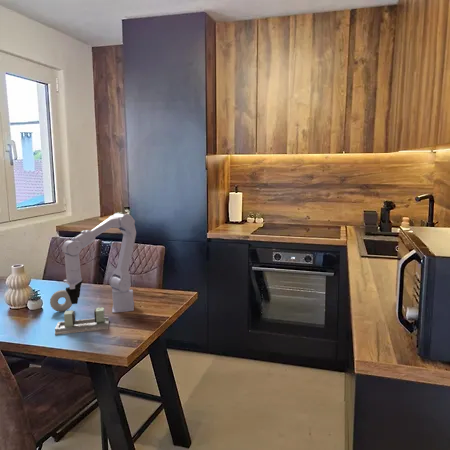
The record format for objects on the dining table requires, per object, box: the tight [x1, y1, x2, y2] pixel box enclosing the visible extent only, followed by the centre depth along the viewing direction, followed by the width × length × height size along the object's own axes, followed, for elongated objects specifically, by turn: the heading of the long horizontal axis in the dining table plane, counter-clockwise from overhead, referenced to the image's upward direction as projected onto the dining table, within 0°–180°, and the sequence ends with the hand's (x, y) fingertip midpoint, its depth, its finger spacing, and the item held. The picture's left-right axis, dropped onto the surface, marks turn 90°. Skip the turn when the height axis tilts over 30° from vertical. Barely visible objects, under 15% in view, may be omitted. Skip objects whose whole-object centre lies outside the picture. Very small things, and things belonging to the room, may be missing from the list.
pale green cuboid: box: [63, 310, 76, 327], centre depth 162 cm, size 4×4×6 cm
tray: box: [54, 306, 110, 335], centre depth 163 cm, size 20×9×7 cm, turn 104°
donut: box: [49, 289, 73, 312], centre depth 181 cm, size 10×4×10 cm, turn 121°
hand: (75, 300), depth 168 cm, fingers open, 7 cm apart
